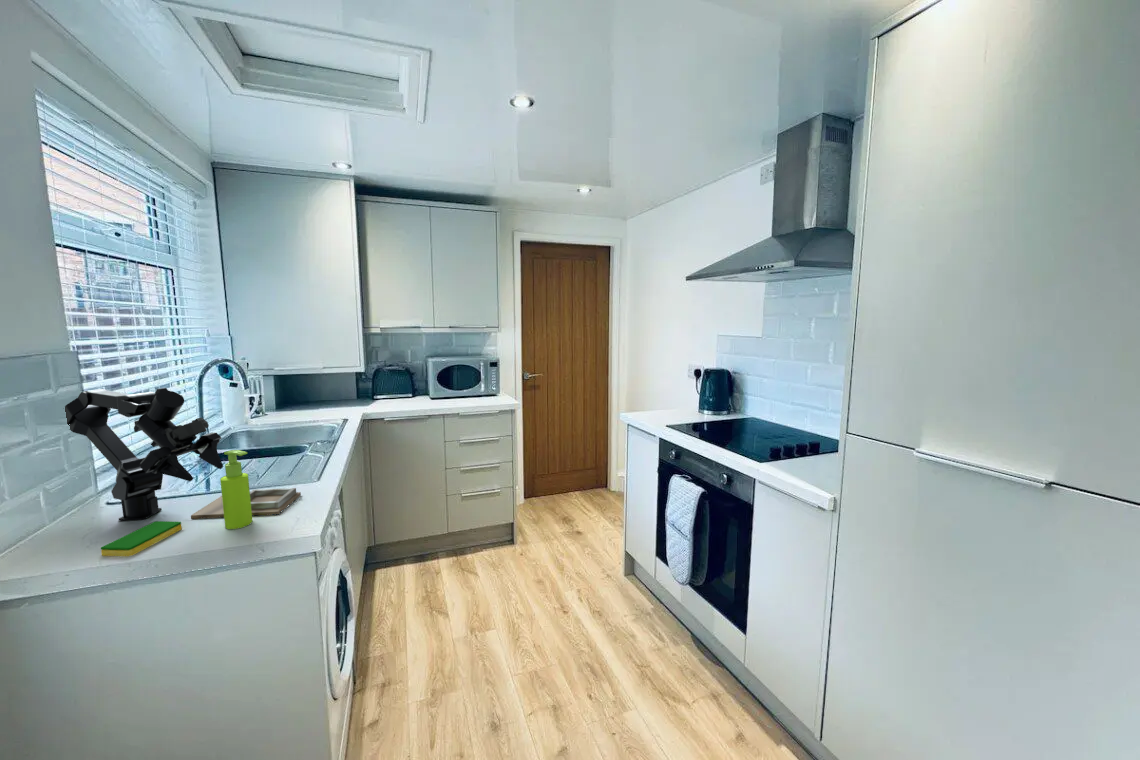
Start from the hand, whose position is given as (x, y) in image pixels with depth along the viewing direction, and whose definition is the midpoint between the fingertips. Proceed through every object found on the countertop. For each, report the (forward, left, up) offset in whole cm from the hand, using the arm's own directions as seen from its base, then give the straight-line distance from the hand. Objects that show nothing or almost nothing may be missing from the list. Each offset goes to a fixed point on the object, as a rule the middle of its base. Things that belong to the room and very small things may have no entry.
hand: (207, 473), depth 120 cm
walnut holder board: (+4, +10, -14) cm, 17 cm away
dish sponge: (-10, -9, -14) cm, 20 cm away
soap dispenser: (+8, -2, -14) cm, 16 cm away
